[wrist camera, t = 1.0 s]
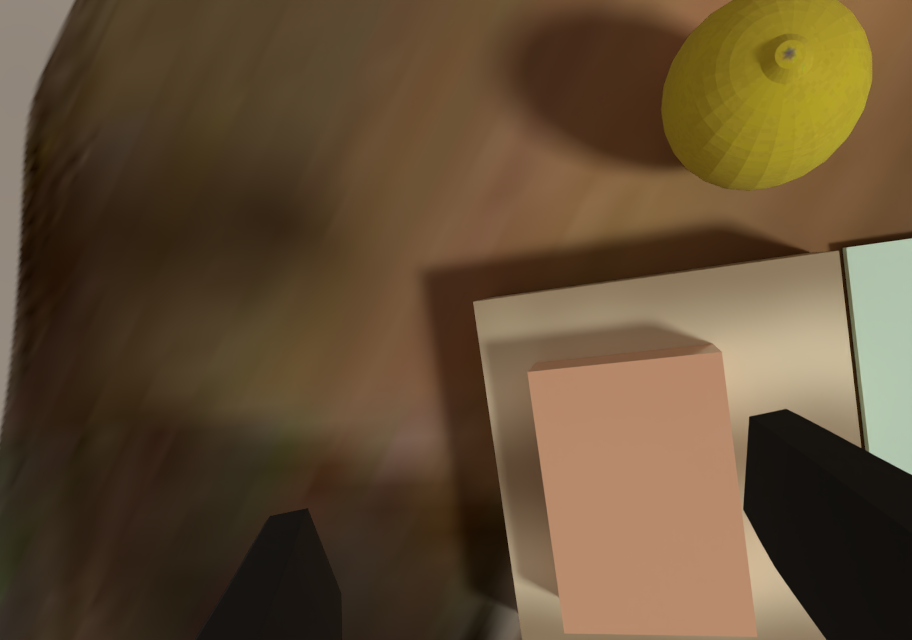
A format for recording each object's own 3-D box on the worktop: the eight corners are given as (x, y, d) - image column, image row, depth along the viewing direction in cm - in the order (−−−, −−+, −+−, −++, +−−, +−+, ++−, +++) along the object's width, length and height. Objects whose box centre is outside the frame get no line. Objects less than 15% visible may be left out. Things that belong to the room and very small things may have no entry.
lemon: (736, 15, 22) (794, -117, 14) (856, 116, 21) (984, 33, 14) (624, 134, 23) (623, 71, 16) (732, 233, 23) (787, 217, 15)
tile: (745, 602, 21) (757, 636, 19) (569, 602, 23) (564, 633, 21) (713, 343, 20) (721, 351, 19) (535, 362, 22) (527, 371, 20)
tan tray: (854, 624, 23) (887, 676, 20) (536, 620, 26) (525, 665, 23) (811, 252, 22) (838, 250, 19) (490, 297, 25) (473, 301, 23)
